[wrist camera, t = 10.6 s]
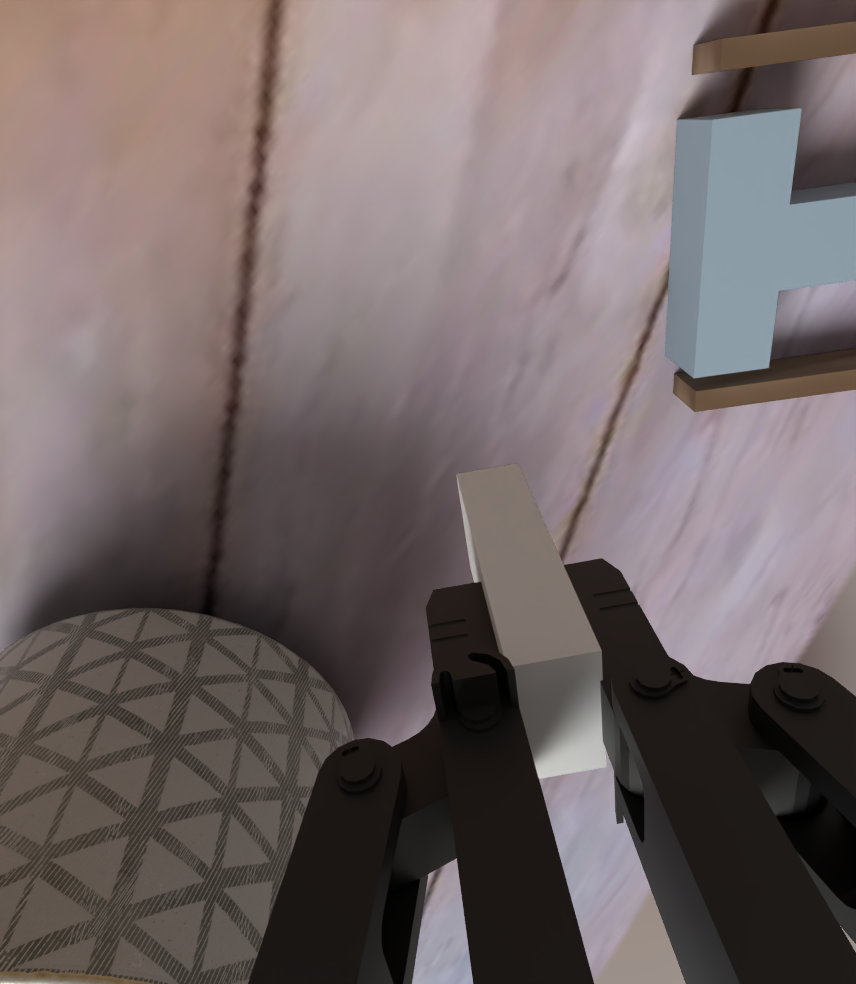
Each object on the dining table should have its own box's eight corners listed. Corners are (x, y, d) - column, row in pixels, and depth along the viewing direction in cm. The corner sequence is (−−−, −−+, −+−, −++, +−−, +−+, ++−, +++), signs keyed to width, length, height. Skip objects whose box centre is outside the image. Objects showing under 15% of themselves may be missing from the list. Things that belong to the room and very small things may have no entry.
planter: (423, 668, 50) (468, 1071, 29) (250, 861, 58) (188, 1281, 37) (81, 501, 41) (-210, 901, 20) (-63, 757, 50) (-371, 1224, 29)
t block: (676, 119, 34) (712, 119, 30) (916, 87, 34) (979, 84, 31) (664, 355, 40) (693, 378, 36) (869, 326, 40) (918, 347, 36)
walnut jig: (693, 45, 32) (722, 38, 30) (989, 6, 33) (1044, -4, 30) (673, 393, 41) (694, 411, 38) (909, 360, 41) (946, 376, 38)
